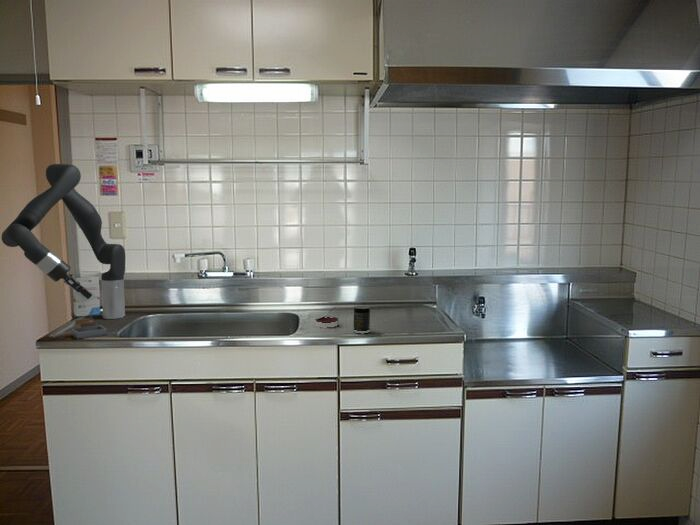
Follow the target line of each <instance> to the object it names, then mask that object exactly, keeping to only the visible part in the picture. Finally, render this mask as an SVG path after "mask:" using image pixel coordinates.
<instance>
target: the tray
mask: <svg viewBox="0 0 700 525" xmlns="http://www.w3.org/2000/svg"><path fill="white" fill-rule="evenodd" d="M70 331H71V336H72V335H73V337H74V338H75V337H76V338H75V339H77V338H83V339H88V338H87V337H90V338H96V337H103V336H107V335H108V328H107V327H105V326H102V325H101V324H98V325H95V326H90V327H82V328H71V330H70Z"/></svg>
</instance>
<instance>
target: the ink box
mask: <svg viewBox="0 0 700 525" xmlns="http://www.w3.org/2000/svg"><path fill="white" fill-rule="evenodd" d="M75 278H76V277H75ZM99 279H100V278H99V276H93V277H91V276H90V277H77V278H76V282H77V281H79V282H80V285H81V286H83V287H84V288H85V289H86V290H87V291H88V292H90V293H91V294H92V296H91V297H90V298H89V299H87V298H86V297H85V296H83V295H82V294H81V293H78V292H77V291H76V290H74V289H72V292H73V296H72V297H73V315H74V316H75V317H84V316H95V315H100V314H101V306H100V305H101V303H100V302H101V301H100V300H101V299H100V298H101V297H100V284H99V283H100V280H99ZM79 287H80V286H77V287H76V289H78V288H79Z"/></svg>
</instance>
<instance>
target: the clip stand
mask: <svg viewBox="0 0 700 525" xmlns="http://www.w3.org/2000/svg"><path fill="white" fill-rule="evenodd" d="M74 324H75V326H74V327H75V328H82V327H90V326H96V322H95V321H90V318H80V319H75V321H74Z"/></svg>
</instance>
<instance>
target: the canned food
mask: <svg viewBox="0 0 700 525" xmlns="http://www.w3.org/2000/svg"><path fill="white" fill-rule="evenodd" d="M336 308H337V307H336V306H335V307H333V308H332V309H330V310H329V311H328V312H326V313H324V314H321V315H320V316H318V317H316V318H315V319H314V320H316V321H317V322H322V323H331V322H336V321H338V322H339V318H338V317H336V316H335V317H334V316H332V317H333V318H330V317H331V316H327V315H328V314H329V313H330V312H332V311H333V310H335V309H336ZM325 317H327V318H325Z"/></svg>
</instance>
